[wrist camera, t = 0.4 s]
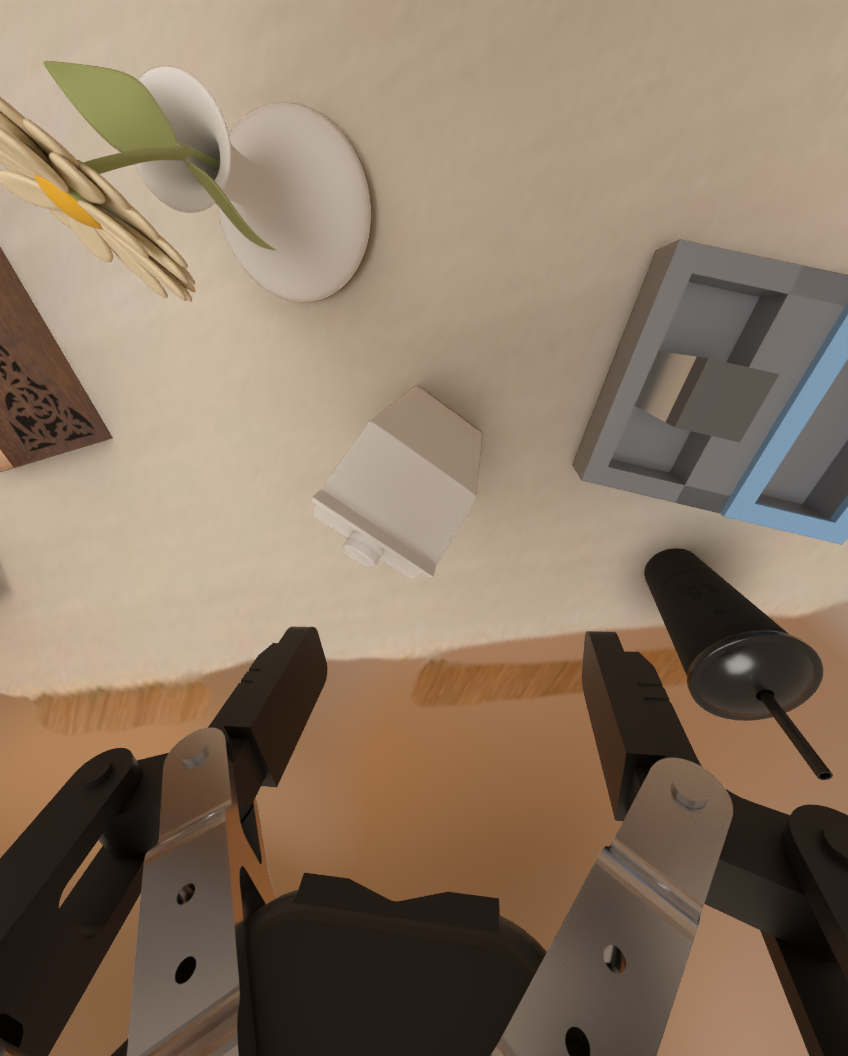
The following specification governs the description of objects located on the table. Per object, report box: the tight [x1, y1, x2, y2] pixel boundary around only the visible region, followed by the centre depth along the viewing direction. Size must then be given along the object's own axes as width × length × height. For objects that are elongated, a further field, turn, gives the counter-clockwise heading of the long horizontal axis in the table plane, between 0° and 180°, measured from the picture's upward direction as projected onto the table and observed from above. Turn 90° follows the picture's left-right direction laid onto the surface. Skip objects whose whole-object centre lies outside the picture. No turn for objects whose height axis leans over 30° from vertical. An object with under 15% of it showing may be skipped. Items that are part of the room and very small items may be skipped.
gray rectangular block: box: [635, 351, 779, 442], centre depth 27 cm, size 4×4×8 cm
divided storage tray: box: [573, 240, 848, 545], centre depth 29 cm, size 16×20×5 cm
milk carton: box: [311, 386, 482, 579], centre depth 28 cm, size 7×7×19 cm
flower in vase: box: [0, 61, 371, 302], centre depth 20 cm, size 13×11×25 cm
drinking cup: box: [645, 549, 833, 780], centre depth 30 cm, size 8×8×20 cm
